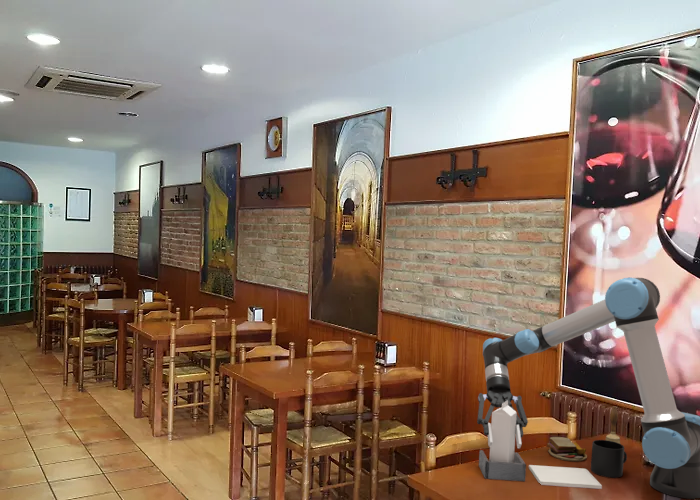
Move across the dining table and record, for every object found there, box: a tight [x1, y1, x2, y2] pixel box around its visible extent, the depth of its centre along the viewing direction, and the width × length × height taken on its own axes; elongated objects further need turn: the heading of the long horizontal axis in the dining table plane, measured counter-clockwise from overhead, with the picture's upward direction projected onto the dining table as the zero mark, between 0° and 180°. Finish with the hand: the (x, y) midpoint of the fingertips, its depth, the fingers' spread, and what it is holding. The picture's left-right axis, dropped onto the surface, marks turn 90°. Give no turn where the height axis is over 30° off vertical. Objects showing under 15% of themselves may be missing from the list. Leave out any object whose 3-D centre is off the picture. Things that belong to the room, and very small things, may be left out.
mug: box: [590, 439, 628, 479], centre depth 202 cm, size 9×12×9 cm
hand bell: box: [605, 405, 621, 444], centre depth 224 cm, size 8×8×16 cm
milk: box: [488, 401, 518, 463], centre depth 196 cm, size 6×6×22 cm
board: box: [528, 464, 603, 490], centre depth 195 cm, size 18×14×1 cm
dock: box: [478, 449, 527, 482], centre depth 196 cm, size 12×11×5 cm
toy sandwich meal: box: [546, 436, 588, 463], centre depth 217 cm, size 12×14×5 cm
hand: (505, 445), depth 193 cm, fingers closed on milk, 8 cm apart
